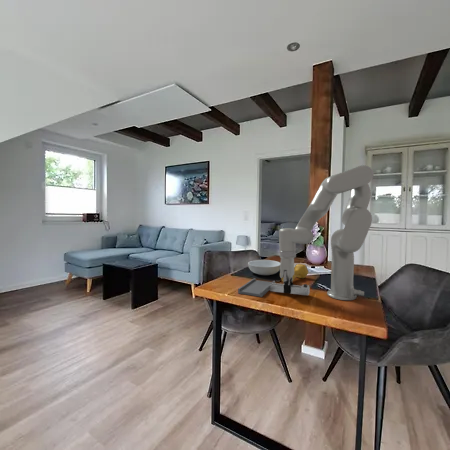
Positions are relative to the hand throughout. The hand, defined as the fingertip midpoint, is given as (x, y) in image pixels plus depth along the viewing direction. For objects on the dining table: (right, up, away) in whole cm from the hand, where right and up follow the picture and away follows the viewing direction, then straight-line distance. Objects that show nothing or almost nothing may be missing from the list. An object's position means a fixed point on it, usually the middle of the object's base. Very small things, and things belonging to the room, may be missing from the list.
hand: (288, 291), depth 123 cm
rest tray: (-14, -1, +8) cm, 16 cm away
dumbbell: (+10, 0, +25) cm, 27 cm away
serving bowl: (-5, +1, +40) cm, 40 cm away
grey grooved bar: (0, 0, 0) cm, 0 cm away
